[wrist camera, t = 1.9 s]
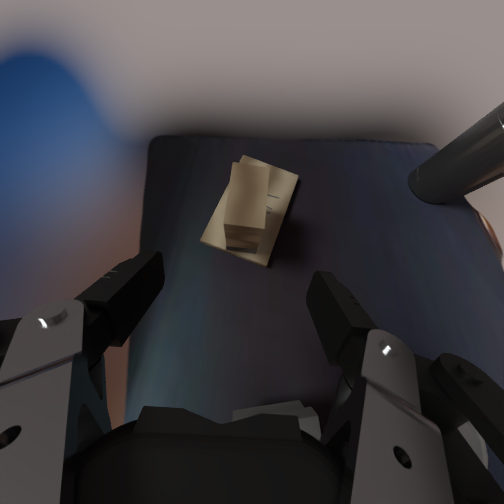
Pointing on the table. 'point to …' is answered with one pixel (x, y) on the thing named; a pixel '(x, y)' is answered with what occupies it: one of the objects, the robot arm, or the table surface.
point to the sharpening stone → (305, 415)
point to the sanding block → (246, 207)
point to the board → (276, 207)
